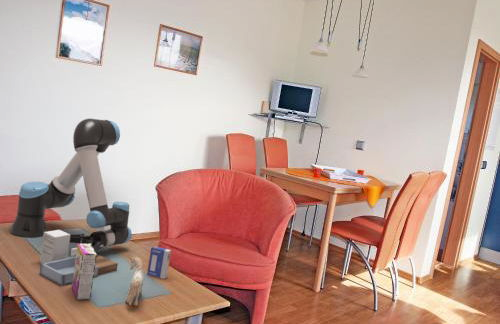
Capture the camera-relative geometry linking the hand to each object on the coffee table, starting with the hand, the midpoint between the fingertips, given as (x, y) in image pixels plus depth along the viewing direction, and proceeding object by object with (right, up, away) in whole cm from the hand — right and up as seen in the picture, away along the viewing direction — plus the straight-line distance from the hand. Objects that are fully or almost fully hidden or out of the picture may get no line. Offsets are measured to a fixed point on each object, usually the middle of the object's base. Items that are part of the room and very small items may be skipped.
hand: (60, 247), depth 181 cm
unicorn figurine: (+32, -15, -19) cm, 40 cm away
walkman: (+37, -13, +6) cm, 40 cm away
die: (+5, -4, +39) cm, 40 cm away
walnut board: (+14, -9, +3) cm, 17 cm away
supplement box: (-3, -7, 0) cm, 7 cm away
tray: (+7, -9, -9) cm, 14 cm away
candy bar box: (+16, -12, -22) cm, 30 cm away
